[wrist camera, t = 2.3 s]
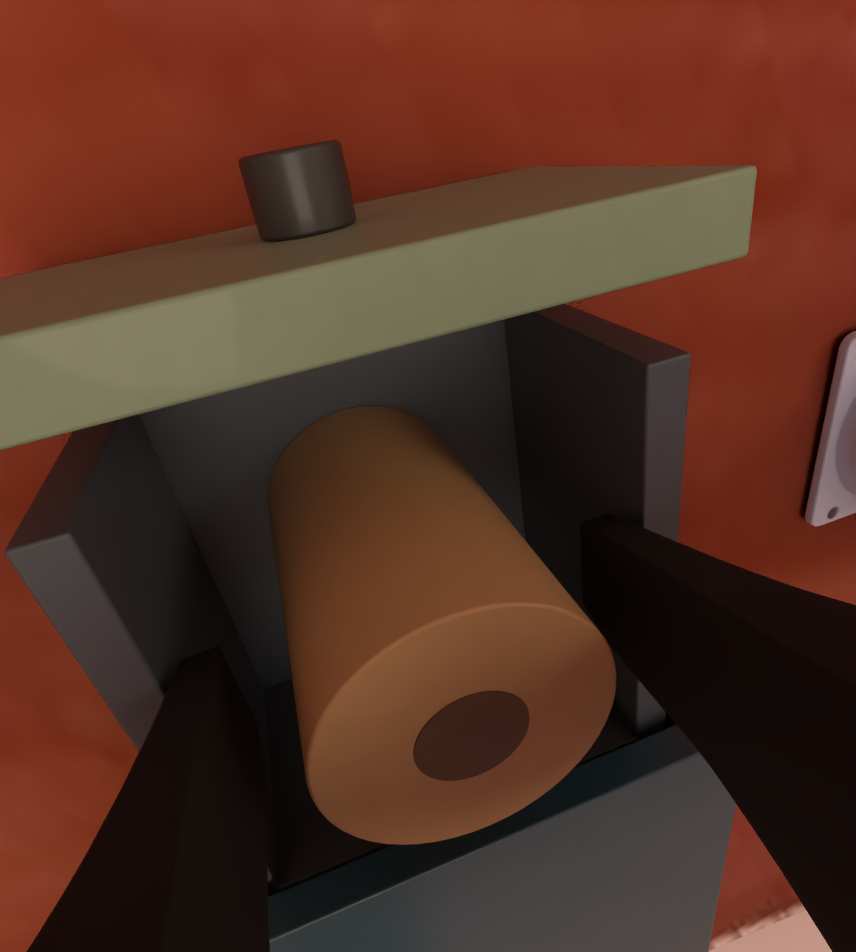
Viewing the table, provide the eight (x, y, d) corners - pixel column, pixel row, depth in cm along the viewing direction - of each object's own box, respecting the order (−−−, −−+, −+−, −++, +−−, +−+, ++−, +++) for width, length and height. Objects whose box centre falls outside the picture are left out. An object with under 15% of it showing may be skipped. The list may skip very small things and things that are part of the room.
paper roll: (439, 381, 14) (619, 557, 8) (465, 539, 16) (618, 773, 10) (240, 436, 13) (257, 686, 7) (298, 595, 16) (351, 887, 9)
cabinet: (186, 652, 18) (161, 988, 10) (558, 527, 20) (750, 731, 13) (305, 876, 25) (340, 1173, 17) (573, 764, 27) (703, 984, 20)
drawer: (-31, 210, 11) (-320, 257, 5) (527, 106, 13) (773, 54, 7) (220, 695, 18) (220, 948, 12) (557, 576, 20) (694, 743, 14)
